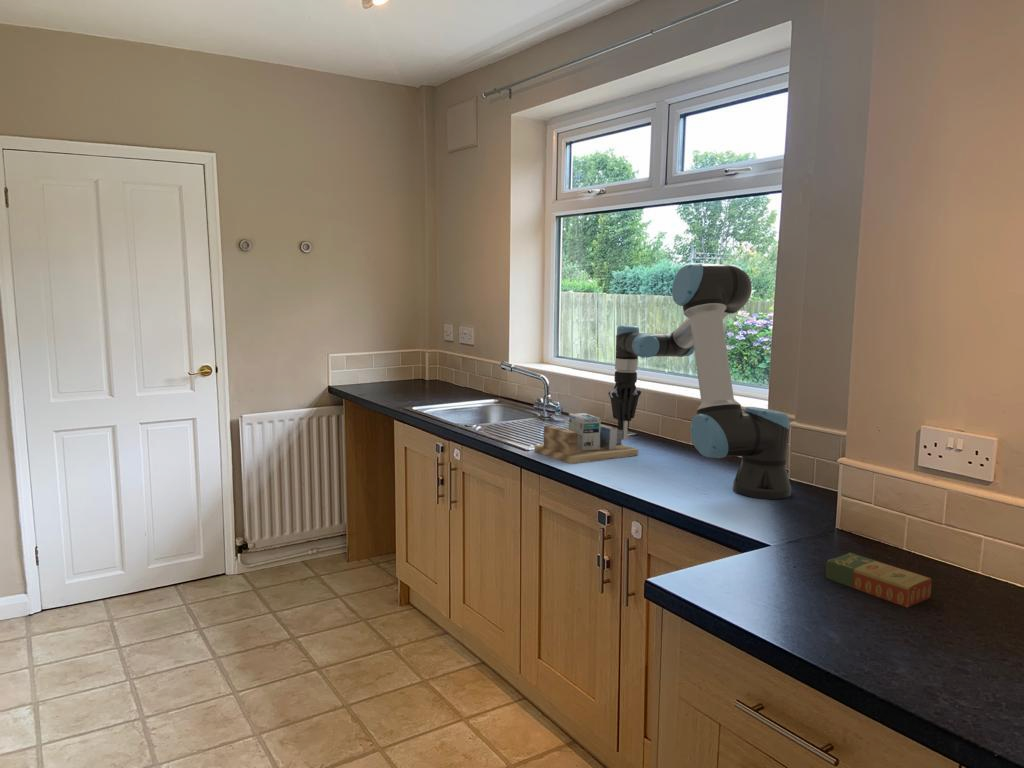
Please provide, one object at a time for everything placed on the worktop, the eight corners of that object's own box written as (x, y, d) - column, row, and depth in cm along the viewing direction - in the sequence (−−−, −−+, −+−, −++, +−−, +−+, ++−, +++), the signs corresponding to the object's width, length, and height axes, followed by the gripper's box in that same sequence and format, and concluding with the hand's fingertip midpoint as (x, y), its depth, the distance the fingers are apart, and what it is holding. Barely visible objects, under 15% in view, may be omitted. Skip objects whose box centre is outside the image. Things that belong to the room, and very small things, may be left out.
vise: (637, 455, 247) (639, 428, 246) (570, 463, 232) (571, 435, 231) (599, 443, 264) (600, 418, 263) (534, 451, 249) (535, 424, 248)
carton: (906, 610, 132) (908, 586, 131) (824, 579, 145) (825, 558, 144) (930, 599, 136) (932, 577, 136) (848, 570, 149) (850, 550, 149)
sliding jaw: (632, 447, 249) (633, 426, 248) (609, 449, 244) (610, 428, 243) (605, 439, 261) (606, 419, 260) (582, 441, 256) (583, 421, 255)
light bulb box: (600, 450, 244) (601, 417, 242) (582, 451, 241) (583, 418, 240) (584, 443, 254) (585, 412, 252) (566, 444, 251) (568, 413, 249)
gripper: (633, 369, 260) (629, 435, 263) (604, 370, 253) (601, 438, 256) (647, 371, 253) (644, 439, 256) (618, 372, 246) (615, 442, 249)
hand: (622, 439), depth 256 cm, fingers closed
